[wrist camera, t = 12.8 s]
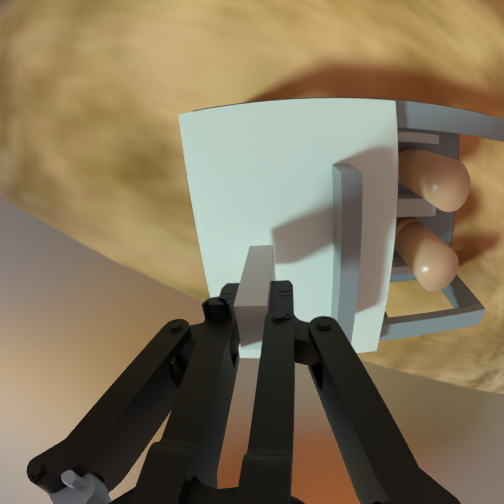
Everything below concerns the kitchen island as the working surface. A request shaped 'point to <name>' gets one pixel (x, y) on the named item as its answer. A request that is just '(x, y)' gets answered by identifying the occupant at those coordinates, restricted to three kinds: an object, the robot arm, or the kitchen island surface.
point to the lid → (300, 201)
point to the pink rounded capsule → (434, 178)
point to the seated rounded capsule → (425, 254)
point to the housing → (432, 207)
